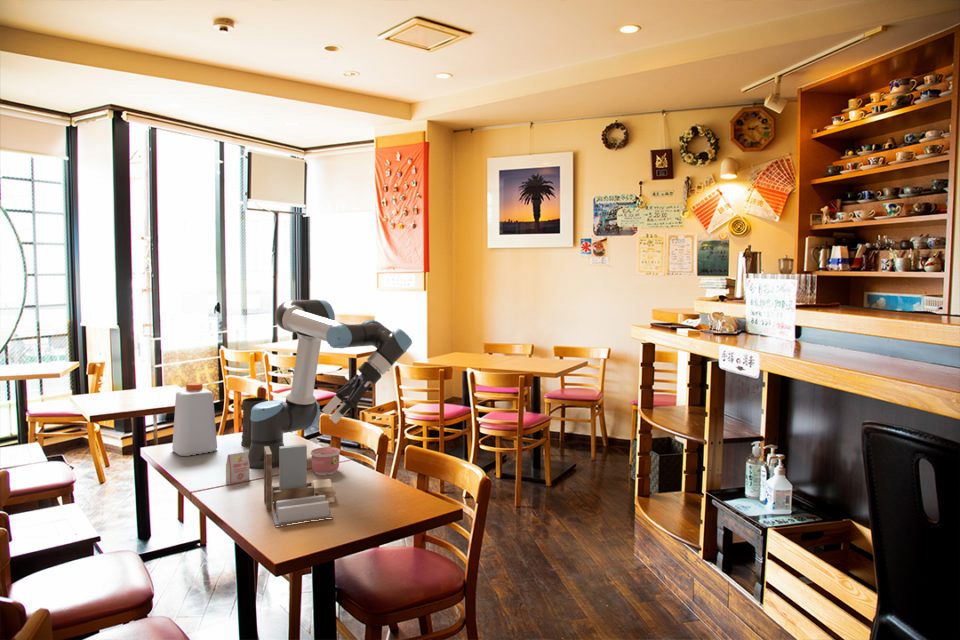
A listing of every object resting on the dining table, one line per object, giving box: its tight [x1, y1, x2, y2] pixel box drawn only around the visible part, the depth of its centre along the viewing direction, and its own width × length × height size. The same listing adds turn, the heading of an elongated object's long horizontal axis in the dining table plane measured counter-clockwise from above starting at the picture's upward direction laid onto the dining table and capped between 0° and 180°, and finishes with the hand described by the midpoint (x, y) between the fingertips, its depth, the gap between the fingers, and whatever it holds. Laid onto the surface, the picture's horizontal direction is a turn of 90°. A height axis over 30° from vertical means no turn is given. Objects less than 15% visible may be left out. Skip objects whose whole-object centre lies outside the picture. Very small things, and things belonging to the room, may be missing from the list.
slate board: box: [278, 443, 308, 490], centre depth 183 cm, size 8×2×18 cm, turn 115°
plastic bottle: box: [171, 382, 218, 457], centre depth 239 cm, size 15×15×28 cm
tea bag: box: [225, 450, 251, 485], centre depth 203 cm, size 4×7×10 cm, turn 133°
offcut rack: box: [263, 446, 336, 511], centre depth 184 cm, size 21×10×18 cm, turn 115°
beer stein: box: [240, 397, 267, 448], centre depth 250 cm, size 15×11×20 cm
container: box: [310, 446, 341, 476], centre depth 215 cm, size 10×10×8 cm
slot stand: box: [271, 495, 334, 527], centre depth 171 cm, size 16×9×5 cm, turn 115°
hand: (328, 416), depth 187 cm, fingers open, 13 cm apart
